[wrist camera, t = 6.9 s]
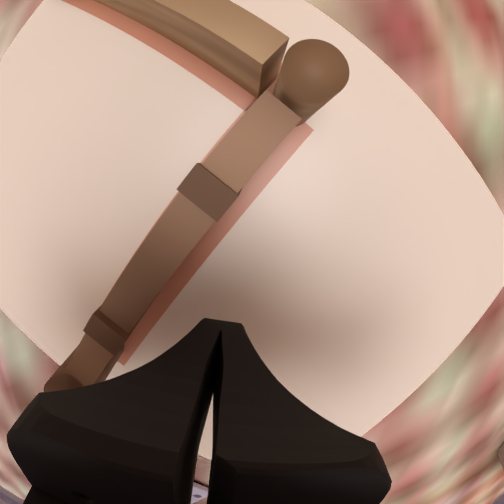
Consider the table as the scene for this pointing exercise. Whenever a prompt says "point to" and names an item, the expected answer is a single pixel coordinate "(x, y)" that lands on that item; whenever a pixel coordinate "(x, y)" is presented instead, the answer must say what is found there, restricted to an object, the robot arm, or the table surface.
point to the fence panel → (175, 239)
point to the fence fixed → (246, 49)
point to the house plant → (501, 454)
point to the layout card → (241, 210)
